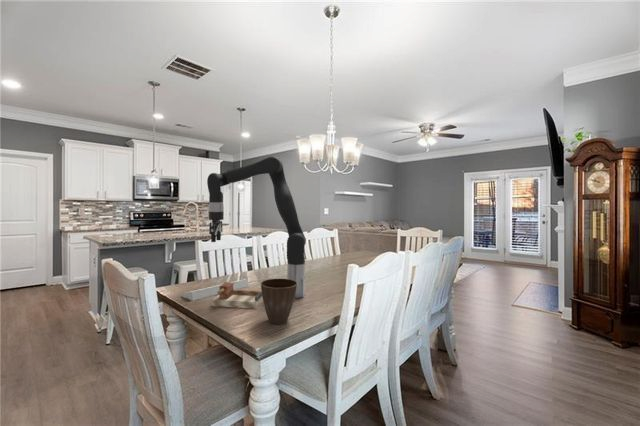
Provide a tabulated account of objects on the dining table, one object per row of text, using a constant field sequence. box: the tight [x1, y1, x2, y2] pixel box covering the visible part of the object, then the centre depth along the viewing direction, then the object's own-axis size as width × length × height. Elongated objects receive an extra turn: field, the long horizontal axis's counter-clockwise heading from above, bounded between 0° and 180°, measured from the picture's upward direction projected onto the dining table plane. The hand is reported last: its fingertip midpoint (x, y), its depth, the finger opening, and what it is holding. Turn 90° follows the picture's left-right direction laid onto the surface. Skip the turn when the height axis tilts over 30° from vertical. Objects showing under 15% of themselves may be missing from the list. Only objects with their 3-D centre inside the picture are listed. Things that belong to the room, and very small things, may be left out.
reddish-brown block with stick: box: [217, 281, 233, 299], centre depth 143 cm, size 4×12×6 cm, turn 175°
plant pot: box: [260, 278, 297, 325], centre depth 124 cm, size 15×15×16 cm
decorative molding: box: [181, 278, 250, 302], centre depth 163 cm, size 34×5×10 cm
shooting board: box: [211, 289, 263, 309], centre depth 145 cm, size 21×11×5 cm, turn 85°
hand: (216, 241), depth 161 cm, fingers open, 8 cm apart
